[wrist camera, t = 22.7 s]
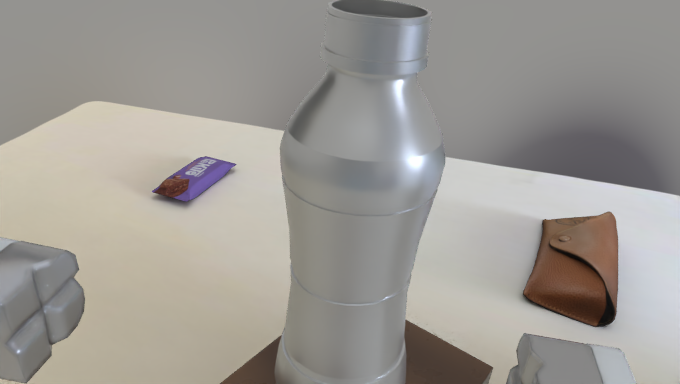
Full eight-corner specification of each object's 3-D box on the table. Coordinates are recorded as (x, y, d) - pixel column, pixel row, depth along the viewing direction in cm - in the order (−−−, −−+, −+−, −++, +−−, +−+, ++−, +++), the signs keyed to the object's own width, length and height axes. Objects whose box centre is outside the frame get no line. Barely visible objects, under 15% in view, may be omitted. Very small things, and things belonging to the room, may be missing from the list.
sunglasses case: (539, 215, 66) (581, 182, 63) (581, 253, 66) (626, 222, 62) (520, 298, 52) (573, 261, 48) (574, 347, 52) (632, 314, 48)
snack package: (204, 149, 72) (237, 157, 71) (205, 162, 73) (237, 170, 72) (150, 184, 63) (186, 194, 61) (151, 198, 64) (187, 209, 62)
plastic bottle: (425, 411, 28) (515, 20, 18) (326, 489, 24) (376, 37, 14) (344, 339, 32) (382, -11, 22) (248, 395, 28) (245, -5, 18)
